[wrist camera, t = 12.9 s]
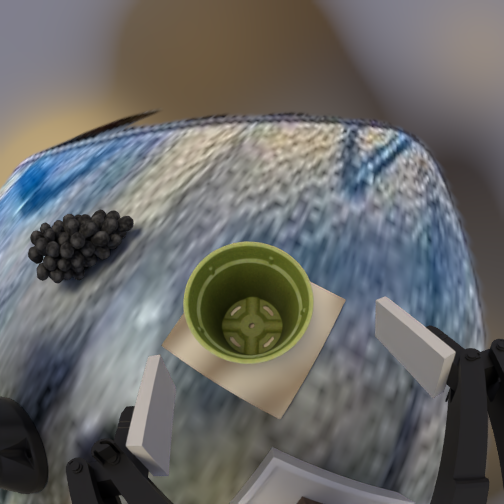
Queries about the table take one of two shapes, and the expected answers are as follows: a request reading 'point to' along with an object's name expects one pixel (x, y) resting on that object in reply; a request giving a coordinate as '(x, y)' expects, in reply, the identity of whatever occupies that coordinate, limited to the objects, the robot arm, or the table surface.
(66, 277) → the fruit
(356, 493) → the grey tray
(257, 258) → the plant pot
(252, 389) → the ash board
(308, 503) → the walnut block
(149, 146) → the table surface
